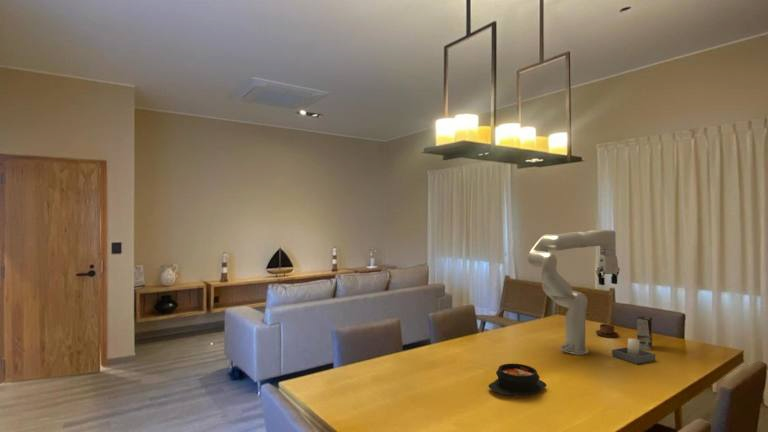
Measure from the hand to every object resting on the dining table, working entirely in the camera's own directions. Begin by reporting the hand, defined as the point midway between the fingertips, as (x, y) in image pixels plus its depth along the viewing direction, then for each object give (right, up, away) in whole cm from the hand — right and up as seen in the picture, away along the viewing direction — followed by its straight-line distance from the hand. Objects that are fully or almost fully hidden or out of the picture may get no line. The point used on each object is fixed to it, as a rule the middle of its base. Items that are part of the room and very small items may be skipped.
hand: (607, 284), depth 227 cm
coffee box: (+20, -35, 0) cm, 40 cm away
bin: (+3, -34, -19) cm, 39 cm away
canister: (+2, -33, -19) cm, 38 cm away
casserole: (-67, -34, -56) cm, 94 cm away
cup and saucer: (+12, -35, +23) cm, 43 cm away
